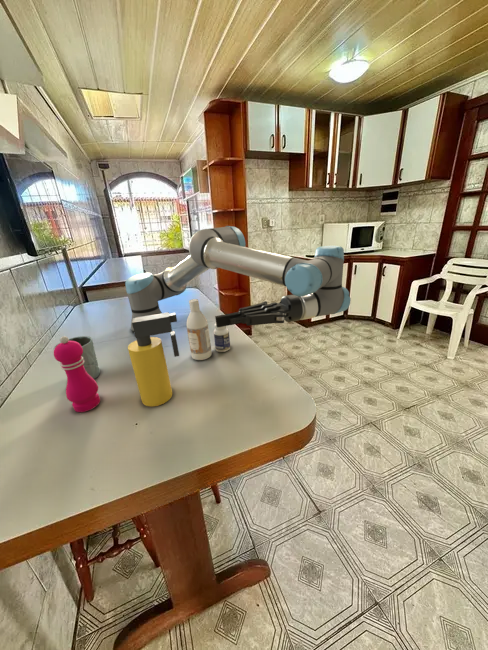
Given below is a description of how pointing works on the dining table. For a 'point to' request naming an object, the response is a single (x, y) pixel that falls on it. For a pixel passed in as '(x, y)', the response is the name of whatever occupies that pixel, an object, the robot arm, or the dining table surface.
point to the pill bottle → (221, 338)
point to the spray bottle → (151, 358)
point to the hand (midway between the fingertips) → (216, 321)
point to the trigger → (174, 343)
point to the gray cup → (88, 355)
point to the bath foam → (198, 332)
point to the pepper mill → (76, 376)
